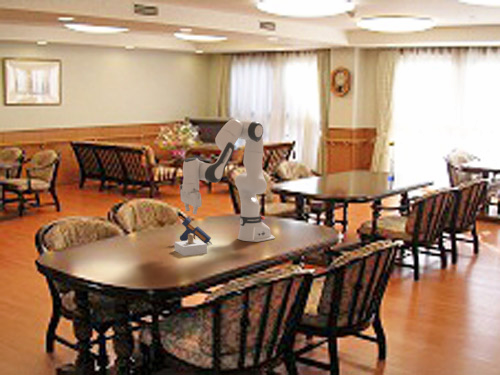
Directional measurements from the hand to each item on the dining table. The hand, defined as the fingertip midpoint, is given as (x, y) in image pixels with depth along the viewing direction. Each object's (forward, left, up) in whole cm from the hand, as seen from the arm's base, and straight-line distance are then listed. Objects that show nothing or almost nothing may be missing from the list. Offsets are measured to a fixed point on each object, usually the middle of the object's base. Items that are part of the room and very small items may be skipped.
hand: (191, 212), depth 362 cm
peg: (0, 0, -22) cm, 22 cm away
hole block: (0, 0, -22) cm, 22 cm away
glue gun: (-11, -18, -22) cm, 31 cm away
